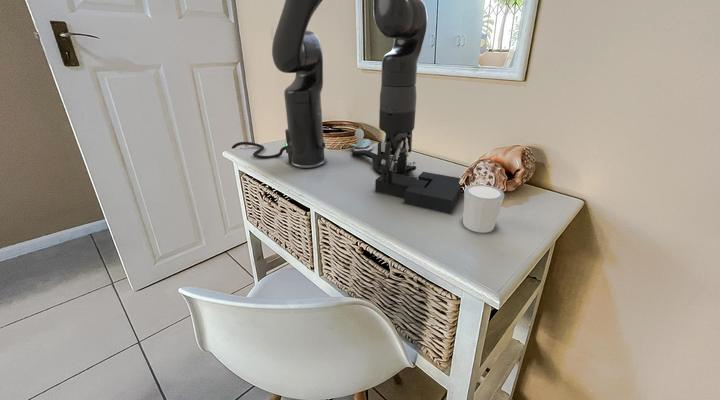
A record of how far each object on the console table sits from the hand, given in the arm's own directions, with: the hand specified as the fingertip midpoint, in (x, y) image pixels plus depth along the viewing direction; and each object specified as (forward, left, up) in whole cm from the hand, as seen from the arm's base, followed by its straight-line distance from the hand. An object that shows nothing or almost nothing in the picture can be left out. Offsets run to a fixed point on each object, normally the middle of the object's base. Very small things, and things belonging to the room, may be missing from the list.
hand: (394, 178), depth 77 cm
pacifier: (-20, +22, -3) cm, 30 cm away
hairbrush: (-9, +12, -3) cm, 16 cm away
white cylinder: (+21, -8, -3) cm, 22 cm away
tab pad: (+2, -1, -3) cm, 4 cm away
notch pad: (+10, 0, -3) cm, 10 cm away
